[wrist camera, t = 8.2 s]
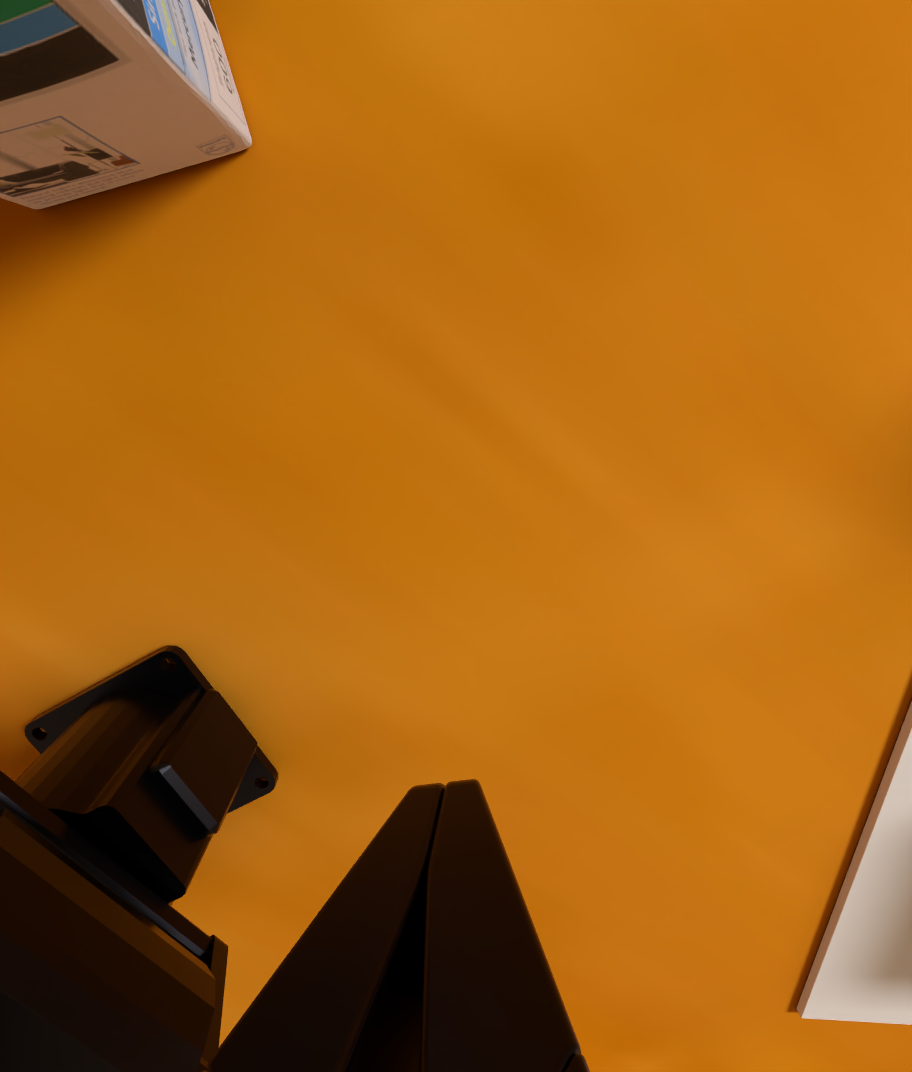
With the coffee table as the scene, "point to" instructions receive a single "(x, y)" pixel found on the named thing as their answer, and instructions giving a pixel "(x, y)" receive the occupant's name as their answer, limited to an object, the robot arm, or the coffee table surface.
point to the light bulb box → (110, 95)
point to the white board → (872, 913)
